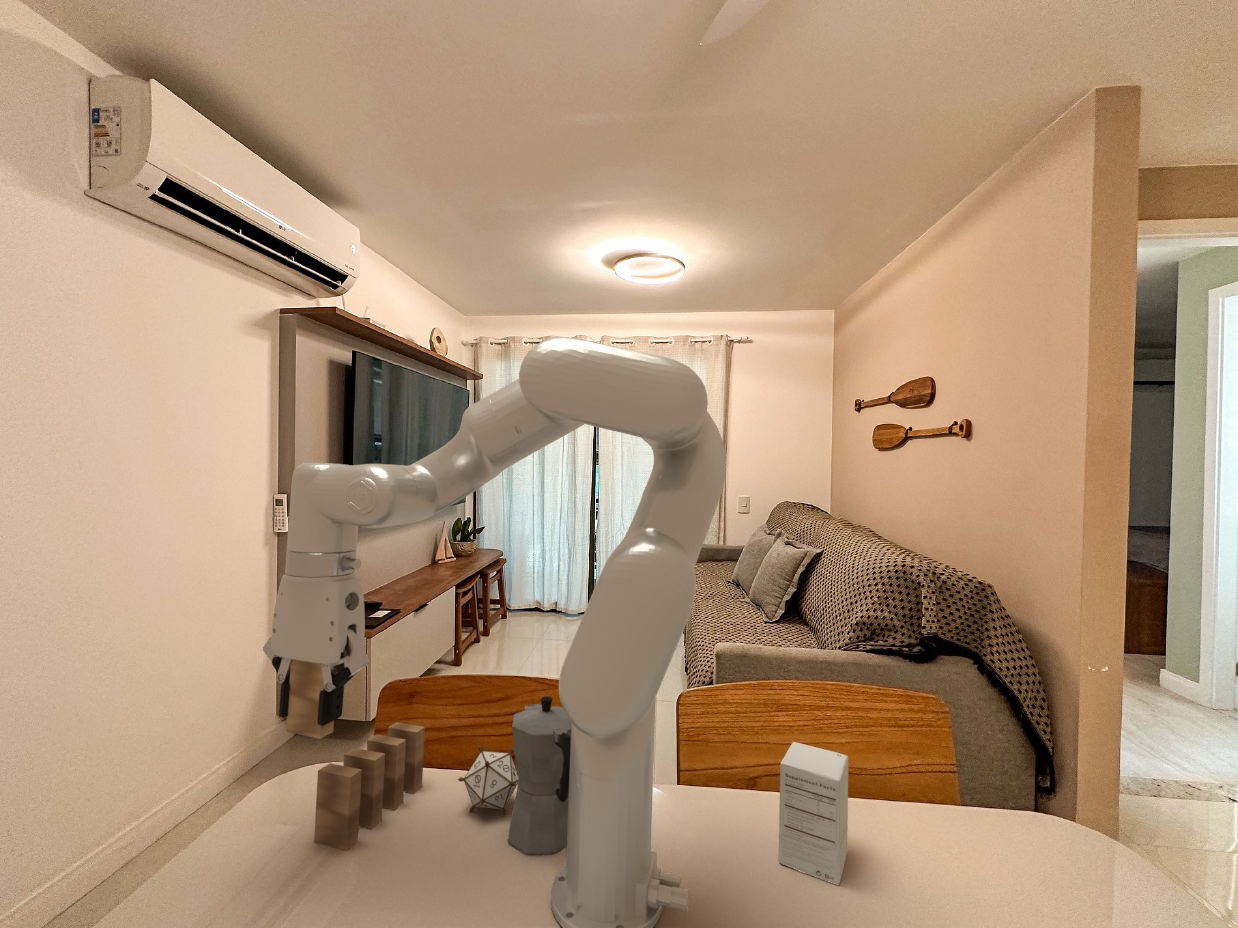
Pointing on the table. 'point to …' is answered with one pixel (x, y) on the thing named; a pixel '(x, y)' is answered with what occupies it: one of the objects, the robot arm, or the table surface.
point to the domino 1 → (306, 700)
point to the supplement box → (814, 811)
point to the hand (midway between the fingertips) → (310, 715)
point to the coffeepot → (541, 779)
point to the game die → (491, 780)
